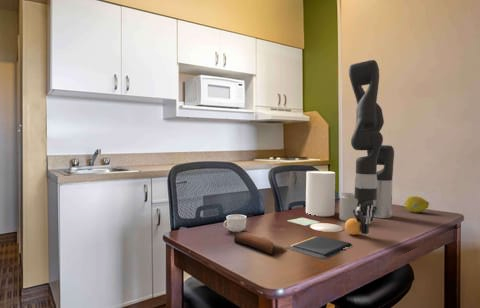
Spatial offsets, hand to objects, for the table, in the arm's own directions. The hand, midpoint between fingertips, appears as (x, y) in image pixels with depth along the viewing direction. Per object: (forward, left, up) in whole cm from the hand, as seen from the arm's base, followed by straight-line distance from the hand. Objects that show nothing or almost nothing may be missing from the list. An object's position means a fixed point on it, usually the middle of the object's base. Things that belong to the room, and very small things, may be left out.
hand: (364, 233), depth 119 cm
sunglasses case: (+38, -14, -2) cm, 40 cm away
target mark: (+1, -16, -1) cm, 16 cm away
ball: (+1, -4, +2) cm, 5 cm away
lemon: (-60, -8, -2) cm, 61 cm away
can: (-17, -18, -2) cm, 25 cm away
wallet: (+22, -2, -2) cm, 22 cm away
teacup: (+34, -34, -2) cm, 48 cm away
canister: (-19, -35, -2) cm, 40 cm away
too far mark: (+1, -28, -1) cm, 28 cm away
